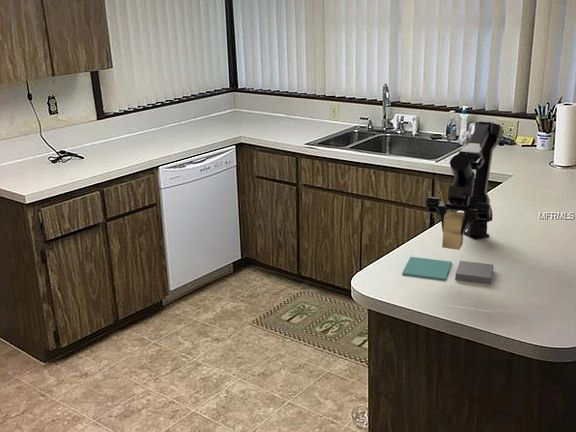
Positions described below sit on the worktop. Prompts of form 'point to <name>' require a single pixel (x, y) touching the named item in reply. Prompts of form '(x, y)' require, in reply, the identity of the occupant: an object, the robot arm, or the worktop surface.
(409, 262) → the teal mat
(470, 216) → the robot arm
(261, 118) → the worktop surface
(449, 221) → the oak block
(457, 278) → the charcoal board
